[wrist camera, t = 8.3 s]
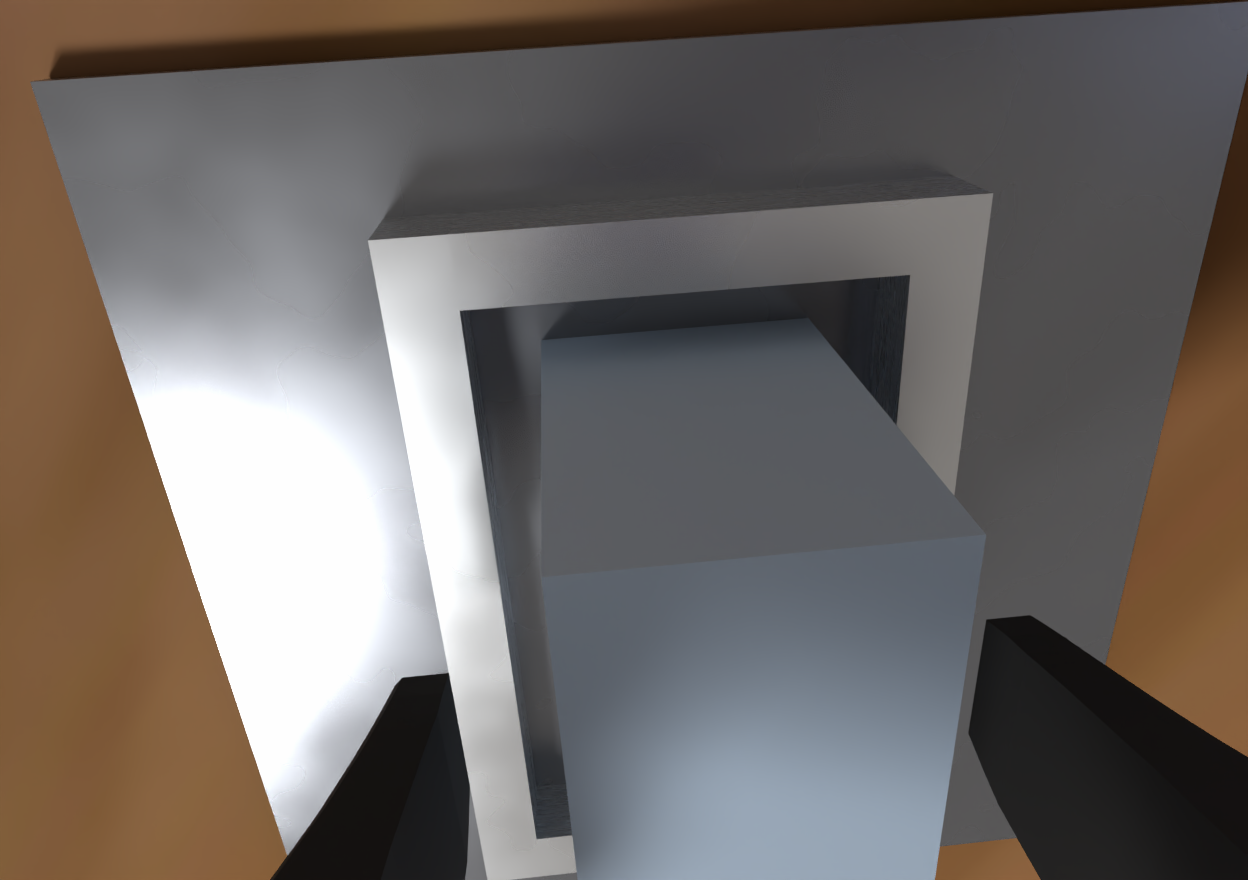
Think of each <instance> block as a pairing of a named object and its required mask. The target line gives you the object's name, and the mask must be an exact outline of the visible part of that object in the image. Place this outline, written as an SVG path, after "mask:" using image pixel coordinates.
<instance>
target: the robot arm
mask: <svg viewBox="0 0 1248 880" xmlns="http://www.w3.org/2000/svg"><path fill="white" fill-rule="evenodd" d="M968 734H969V736H970V739H971V741H972V744H973V746H974V749H975V751H976V754H977V756H978V759H979V761H980V763H981V766H982V768H983V771H984V773H985V776H986V778H987V780H988V782H989V785H990V787H991V789H992V792H993V794H994V796H995V798H996V801H997V803H998V805H999V807H1000V809H1001V810H1002V812H1003V814H1004V816H1005V818H1006V819H1007V821H1008V823H1009V825H1010V827H1011V828H1012V830H1013V832H1014V834H1015V835H1016V837H1017V839H1018V841H1019V842H1020V844H1021V846H1022V848H1023V849H1024V851H1025V853H1026V855H1027V856H1028V858H1029V860H1030V862H1031V863H1032V865H1033V867H1034V868H1035V870H1036V872H1037V874H1038V875H1039V877H1040V879H1041V880H1248V757H1247V756H1245V755H1243V754H1242V753H1240V752H1238V751H1237V750H1235V749H1233V748H1232V747H1230V746H1228V745H1227V744H1225V743H1223V742H1222V741H1220V740H1218V739H1217V738H1215V737H1214V736H1212V735H1210V734H1209V733H1207V732H1206V731H1204V730H1202V729H1201V728H1199V727H1198V726H1196V725H1195V724H1193V723H1191V722H1190V721H1188V720H1187V719H1185V718H1184V717H1182V716H1181V715H1179V714H1177V713H1176V712H1174V711H1173V710H1171V709H1170V708H1168V707H1167V706H1165V705H1164V704H1162V703H1161V702H1159V701H1158V700H1156V699H1155V698H1153V697H1152V696H1150V695H1149V694H1147V693H1146V692H1144V691H1143V690H1141V689H1140V688H1138V687H1137V686H1135V685H1134V684H1132V683H1131V682H1129V681H1128V680H1126V679H1125V678H1123V677H1122V676H1121V675H1119V674H1118V673H1116V672H1115V671H1113V670H1112V669H1110V668H1109V667H1107V666H1106V665H1104V664H1103V663H1102V662H1100V661H1099V660H1097V659H1096V658H1094V657H1093V656H1091V655H1090V654H1088V653H1087V652H1085V651H1084V650H1083V649H1081V648H1080V647H1078V646H1077V645H1075V644H1074V643H1072V642H1071V641H1069V640H1068V639H1066V638H1065V637H1063V636H1062V635H1061V634H1059V633H1058V632H1056V631H1055V630H1053V629H1051V628H1050V627H1048V626H1047V625H1045V624H1044V623H1042V622H1041V621H1039V620H1037V619H1036V618H1034V617H1033V616H1031V615H1026V616H1016V617H1006V618H996V619H986V624H985V630H984V636H983V643H982V649H981V655H980V662H979V668H978V674H977V681H976V687H975V693H974V699H973V706H972V712H971V718H970V725H969V731H968ZM469 803H470V783H469V778H468V772H467V767H466V762H465V756H464V751H463V745H462V740H461V735H460V729H459V724H458V719H457V713H456V708H455V703H454V697H453V692H452V687H451V681H450V676H449V673H443V674H433V675H423V676H413V677H403V678H401V679H400V681H399V682H398V683H397V684H396V685H395V686H394V688H393V690H392V692H391V694H390V695H389V697H388V699H387V701H386V703H385V705H384V706H383V708H382V710H381V712H380V714H379V715H378V717H377V719H376V721H375V722H374V724H373V726H372V728H371V729H370V731H369V733H368V735H367V736H366V738H365V740H364V741H363V743H362V745H361V746H360V748H359V750H358V751H357V753H356V755H355V756H354V758H353V760H352V761H351V763H350V764H349V766H348V767H347V769H346V771H345V772H344V774H343V775H342V777H341V778H340V780H339V781H338V783H337V785H336V786H335V788H334V789H333V791H332V792H331V794H330V795H329V797H328V798H327V800H326V802H325V803H324V805H323V806H322V808H321V809H320V811H319V812H318V814H317V815H316V817H315V818H314V820H313V821H312V823H311V824H310V825H309V827H308V828H307V829H306V831H305V832H304V834H303V835H302V836H301V838H300V839H299V841H298V842H297V843H296V845H295V846H294V848H293V849H292V850H291V852H290V853H289V854H288V856H287V857H286V859H285V860H284V861H283V863H282V864H281V866H280V867H279V868H278V870H277V871H276V873H275V874H274V875H273V877H272V878H271V879H270V880H465V876H466V868H467V858H468V834H469Z"/></svg>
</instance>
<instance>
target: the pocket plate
mask: <svg viewBox="0 0 1248 880" xmlns="http://www.w3.org/2000/svg"><path fill="white" fill-rule="evenodd" d="M1247 73H1248V0H1241V1H1225V2H1210V3H1195V4H1180V5H1165V6H1149V7H1134V8H1119V9H1104V10H1089V11H1073V12H1058V13H1043V14H1028V15H1013V16H997V17H982V18H967V19H952V20H937V21H922V22H906V23H891V24H876V25H861V26H846V27H830V28H815V29H800V30H785V31H770V32H754V33H739V34H724V35H709V36H694V37H679V38H663V39H648V40H633V41H618V42H603V43H587V44H572V45H557V46H542V47H527V48H511V49H496V50H481V51H466V52H451V53H436V54H420V55H405V56H390V57H375V58H360V59H344V60H329V61H314V62H299V63H284V64H268V65H253V66H238V67H223V68H208V69H192V70H177V71H162V72H147V73H132V74H117V75H101V76H86V77H71V78H56V79H44V80H38V81H33V82H31V85H32V88H33V91H34V94H35V97H36V100H37V103H38V106H39V109H40V112H41V115H42V118H43V121H44V124H45V127H46V130H47V133H48V137H49V140H50V143H51V146H52V149H53V152H54V155H55V158H56V161H57V164H58V167H59V170H60V173H61V176H62V179H63V182H64V185H65V188H66V191H67V194H68V197H69V200H70V203H71V206H72V209H73V212H74V215H75V218H76V221H77V224H78V227H79V230H80V233H81V236H82V239H83V242H84V245H85V248H86V251H87V254H88V257H89V260H90V263H91V266H92V269H93V272H94V275H95V278H96V281H97V284H98V287H99V290H100V293H101V296H102V299H103V302H104V305H105V308H106V311H107V314H108V317H109V320H110V323H111V326H112V329H113V332H114V335H115V338H116V341H117V344H118V347H119V350H120V353H121V356H122V359H123V362H124V365H125V368H126V371H127V374H128V377H129V380H130V383H131V386H132V389H133V392H134V395H135V398H136V401H137V404H138V407H139V410H140V413H141V416H142V419H143V422H144V425H145V428H146V431H147V434H148V437H149V440H150V443H151V446H152V449H153V452H154V455H155V458H156V461H157V464H158V468H159V471H160V474H161V477H162V480H163V483H164V486H165V489H166V492H167V495H168V498H169V501H170V504H171V507H172V510H173V513H174V516H175V519H176V522H177V525H178V528H179V531H180V534H181V537H182V540H183V543H184V546H185V549H186V552H187V555H188V558H189V561H190V564H191V567H192V570H193V573H194V576H195V579H196V582H197V585H198V588H199V591H200V594H201V597H202V600H203V603H204V606H205V609H206V612H207V615H208V618H209V621H210V624H211V627H212V630H213V633H214V636H215V639H216V642H217V645H218V648H219V651H220V654H221V657H222V660H223V663H224V666H225V669H226V672H227V675H228V678H229V681H230V684H231V687H232V690H233V693H234V696H235V699H236V702H237V705H238V708H239V711H240V714H241V717H242V720H243V723H244V726H245V729H246V732H247V735H248V738H249V741H250V744H251V747H252V750H253V753H254V756H255V759H256V762H257V765H258V768H259V771H260V774H261V777H262V780H263V783H264V786H265V789H266V792H267V795H268V798H269V802H270V805H271V808H272V811H273V814H274V817H275V820H276V823H277V826H278V829H279V832H280V835H281V838H282V841H283V844H284V847H285V850H286V853H287V856H288V854H289V853H290V852H291V850H292V849H293V848H294V846H295V845H296V843H297V842H298V841H299V839H300V838H301V836H302V835H303V834H304V832H305V831H306V829H307V828H308V827H309V825H310V824H311V823H312V821H313V820H314V818H315V817H316V815H317V814H318V812H319V811H320V809H321V808H322V806H323V805H324V803H325V802H326V800H327V798H328V797H329V795H330V794H331V792H332V791H333V789H334V788H335V786H336V785H337V783H338V781H339V780H340V778H341V777H342V775H343V774H344V772H345V771H346V769H347V767H348V766H349V764H350V763H351V761H352V760H353V758H354V756H355V755H356V753H357V751H358V750H359V748H360V746H361V745H362V743H363V741H364V740H365V738H366V736H367V735H368V733H369V731H370V729H371V728H372V726H373V724H374V722H375V721H376V719H377V717H378V715H379V714H380V712H381V710H382V708H383V706H384V705H385V703H386V701H387V699H388V697H389V695H390V694H391V692H392V690H393V688H394V686H395V685H396V684H397V683H398V682H399V681H400V679H401V678H403V677H413V676H423V675H433V674H443V673H449V676H450V681H451V687H452V692H453V697H454V703H455V708H456V713H457V719H458V724H459V729H460V735H461V740H462V745H463V751H464V756H465V762H466V767H467V772H468V778H469V783H470V803H469V834H468V858H467V868H466V876H465V880H578V879H577V870H576V862H575V854H574V845H573V837H572V829H571V821H570V812H569V804H568V796H567V787H566V779H565V771H564V763H563V754H562V746H561V738H560V729H559V721H558V713H557V704H556V696H555V688H554V680H553V671H552V663H551V655H550V646H549V638H548V630H547V622H546V613H545V605H544V597H543V588H542V580H541V340H549V339H561V338H573V337H585V336H597V335H609V334H621V333H633V332H645V331H657V330H669V329H681V328H693V327H705V326H717V325H730V324H742V323H754V322H766V321H778V320H790V319H802V318H809V320H810V321H811V322H812V323H813V324H814V326H815V327H816V328H817V329H818V331H819V332H820V333H821V334H822V335H823V337H824V338H825V339H826V340H827V341H828V343H829V344H830V345H831V346H832V348H833V349H834V350H835V351H836V352H837V354H838V355H839V356H840V357H841V359H842V360H843V361H844V362H845V363H846V365H847V366H848V367H849V368H850V369H851V371H852V372H853V373H854V374H855V376H856V377H857V378H858V379H859V380H860V382H861V383H862V384H863V385H864V387H865V388H866V389H867V390H868V391H869V393H870V394H871V395H872V396H873V397H874V399H875V400H876V401H877V402H878V404H879V405H880V406H881V407H882V408H883V410H884V411H885V412H886V413H887V415H888V416H889V417H890V418H891V419H892V421H893V422H894V423H895V424H896V425H897V427H898V428H899V429H900V430H901V432H902V433H903V434H904V435H905V436H906V438H907V439H908V440H909V441H910V443H911V444H912V445H913V446H914V447H915V449H916V450H917V451H918V452H919V453H920V455H921V456H922V457H923V458H924V460H925V461H926V462H927V463H928V464H929V466H930V467H931V468H932V469H933V471H934V472H935V473H936V474H937V475H938V477H939V478H940V479H941V480H942V481H943V483H944V484H945V485H946V486H947V488H948V489H949V490H950V491H951V492H952V494H953V495H954V496H955V497H956V499H957V500H958V501H959V502H960V503H961V505H962V506H963V507H964V508H965V509H966V511H967V512H968V513H969V514H970V516H971V517H972V518H973V519H974V520H975V522H976V523H977V524H978V525H979V527H980V528H981V529H982V530H983V531H984V533H985V534H986V540H985V547H984V553H983V560H982V567H981V573H980V580H979V587H978V593H977V600H976V607H975V613H974V620H973V627H972V633H971V640H970V647H969V653H968V660H967V667H966V674H965V680H964V687H963V694H962V700H961V707H960V714H959V720H958V727H957V734H956V740H955V747H954V754H953V760H952V767H951V774H950V780H949V787H948V794H947V801H946V807H945V814H944V821H943V827H942V834H941V841H940V846H948V845H957V844H966V843H975V842H984V841H993V840H1001V839H1010V838H1017V837H1016V835H1015V834H1014V832H1013V830H1012V828H1011V827H1010V825H1009V823H1008V821H1007V819H1006V818H1005V816H1004V814H1003V812H1002V810H1001V809H1000V807H999V805H998V803H997V801H996V798H995V796H994V794H993V792H992V789H991V787H990V785H989V782H988V780H987V778H986V776H985V773H984V771H983V768H982V766H981V763H980V761H979V759H978V756H977V754H976V751H975V749H974V746H973V744H972V741H971V739H970V736H969V734H968V731H969V725H970V718H971V712H972V706H973V699H974V693H975V687H976V681H977V674H978V668H979V662H980V655H981V649H982V643H983V636H984V630H985V624H986V619H996V618H1006V617H1016V616H1026V615H1031V616H1033V617H1034V618H1036V619H1037V620H1039V621H1041V622H1042V623H1044V624H1045V625H1047V626H1048V627H1050V628H1051V629H1053V630H1055V631H1056V632H1058V633H1059V634H1061V635H1062V636H1063V637H1065V638H1066V639H1068V640H1069V641H1071V642H1072V643H1074V644H1075V645H1077V646H1078V647H1080V648H1081V649H1083V650H1084V651H1085V652H1087V653H1088V654H1090V655H1091V656H1093V657H1094V658H1096V659H1097V660H1099V661H1100V662H1102V663H1103V664H1104V665H1105V663H1106V659H1107V655H1108V650H1109V646H1110V642H1111V638H1112V634H1113V630H1114V625H1115V621H1116V617H1117V613H1118V609H1119V605H1120V601H1121V596H1122V592H1123V588H1124V584H1125V580H1126V576H1127V572H1128V567H1129V563H1130V559H1131V555H1132V551H1133V547H1134V542H1135V538H1136V534H1137V530H1138V526H1139V522H1140V518H1141V513H1142V509H1143V505H1144V501H1145V497H1146V493H1147V488H1148V484H1149V480H1150V476H1151V472H1152V468H1153V464H1154V459H1155V455H1156V451H1157V447H1158V443H1159V439H1160V435H1161V430H1162V426H1163V422H1164V418H1165V414H1166V410H1167V405H1168V401H1169V397H1170V393H1171V389H1172V385H1173V381H1174V376H1175V372H1176V368H1177V364H1178V360H1179V356H1180V351H1181V347H1182V343H1183V339H1184V335H1185V331H1186V327H1187V322H1188V318H1189V314H1190V310H1191V306H1192V302H1193V297H1194V293H1195V289H1196V285H1197V281H1198V277H1199V273H1200V268H1201V264H1202V260H1203V256H1204V252H1205V248H1206V244H1207V239H1208V235H1209V231H1210V227H1211V223H1212V219H1213V214H1214V210H1215V206H1216V202H1217V198H1218V194H1219V190H1220V185H1221V181H1222V177H1223V173H1224V169H1225V165H1226V160H1227V156H1228V152H1229V148H1230V144H1231V140H1232V136H1233V131H1234V127H1235V123H1236V119H1237V115H1238V111H1239V107H1240V102H1241V98H1242V94H1243V90H1244V86H1245V82H1246V77H1247Z"/></svg>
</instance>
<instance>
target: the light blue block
mask: <svg viewBox="0 0 1248 880" xmlns="http://www.w3.org/2000/svg"><path fill="white" fill-rule="evenodd" d="M985 540H986V534H985V533H984V531H983V530H982V529H981V528H980V527H979V525H978V524H977V523H976V522H975V520H974V519H973V518H972V517H971V516H970V514H969V513H968V512H967V511H966V509H965V508H964V507H963V506H962V505H961V503H960V502H959V501H958V500H957V499H956V497H955V496H954V495H953V494H952V492H951V491H950V490H949V489H948V488H947V486H946V485H945V484H944V483H943V481H942V480H941V479H940V478H939V477H938V475H937V474H936V473H935V472H934V471H933V469H932V468H931V467H930V466H929V464H928V463H927V462H926V461H925V460H924V458H923V457H922V456H921V455H920V453H919V452H918V451H917V450H916V449H915V447H914V446H913V445H912V444H911V443H910V441H909V440H908V439H907V438H906V436H905V435H904V434H903V433H902V432H901V430H900V429H899V428H898V427H897V425H896V424H895V423H894V422H893V421H892V419H891V418H890V417H889V416H888V415H887V413H886V412H885V411H884V410H883V408H882V407H881V406H880V405H879V404H878V402H877V401H876V400H875V399H874V397H873V396H872V395H871V394H870V393H869V391H868V390H867V389H866V388H865V387H864V385H863V384H862V383H861V382H860V380H859V379H858V378H857V377H856V376H855V374H854V373H853V372H852V371H851V369H850V368H849V367H848V366H847V365H846V363H845V362H844V361H843V360H842V359H841V357H840V356H839V355H838V354H837V352H836V351H835V350H834V349H833V348H832V346H831V345H830V344H829V343H828V341H827V340H826V339H825V338H824V337H823V335H822V334H821V333H820V332H819V331H818V329H817V328H816V327H815V326H814V324H813V323H812V322H811V321H810V320H809V318H802V319H790V320H778V321H766V322H754V323H742V324H730V325H717V326H705V327H693V328H681V329H669V330H657V331H645V332H633V333H621V334H609V335H597V336H585V337H573V338H561V339H549V340H541V580H542V588H543V597H544V605H545V613H546V622H547V630H548V638H549V646H550V655H551V663H552V671H553V680H554V688H555V696H556V704H557V713H558V721H559V729H560V738H561V746H562V754H563V763H564V771H565V779H566V787H567V796H568V804H569V812H570V821H571V829H572V837H573V845H574V854H575V862H576V870H577V879H578V880H935V874H936V867H937V861H938V854H939V847H940V841H941V834H942V827H943V821H944V814H945V807H946V801H947V794H948V787H949V780H950V774H951V767H952V760H953V754H954V747H955V740H956V734H957V727H958V720H959V714H960V707H961V700H962V694H963V687H964V680H965V674H966V667H967V660H968V653H969V647H970V640H971V633H972V627H973V620H974V613H975V607H976V600H977V593H978V587H979V580H980V573H981V567H982V560H983V553H984V547H985Z"/></svg>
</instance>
